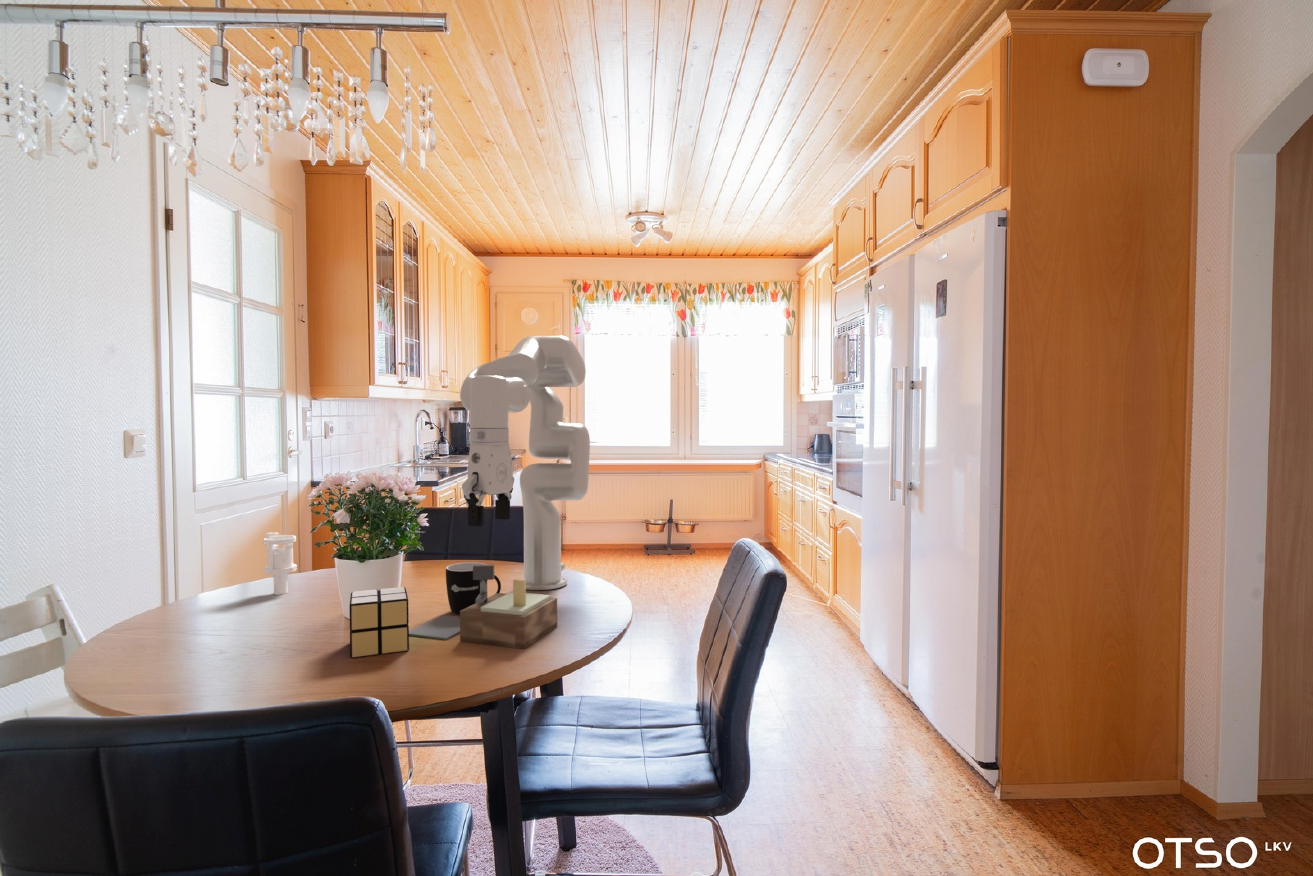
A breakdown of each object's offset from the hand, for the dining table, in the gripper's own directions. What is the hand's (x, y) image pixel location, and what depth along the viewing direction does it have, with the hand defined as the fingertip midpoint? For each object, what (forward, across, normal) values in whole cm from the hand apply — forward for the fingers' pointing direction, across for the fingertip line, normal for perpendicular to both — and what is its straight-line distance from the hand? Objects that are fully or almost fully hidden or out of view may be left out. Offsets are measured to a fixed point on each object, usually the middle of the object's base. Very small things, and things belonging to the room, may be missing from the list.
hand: (489, 522), depth 135 cm
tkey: (+16, -1, +1) cm, 16 cm away
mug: (+23, +12, +12) cm, 29 cm away
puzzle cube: (+23, -14, +16) cm, 31 cm away
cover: (+16, +1, -6) cm, 17 cm away
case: (+22, +1, -4) cm, 23 cm away
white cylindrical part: (+23, +10, +66) cm, 71 cm away
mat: (+22, 0, +11) cm, 25 cm away
